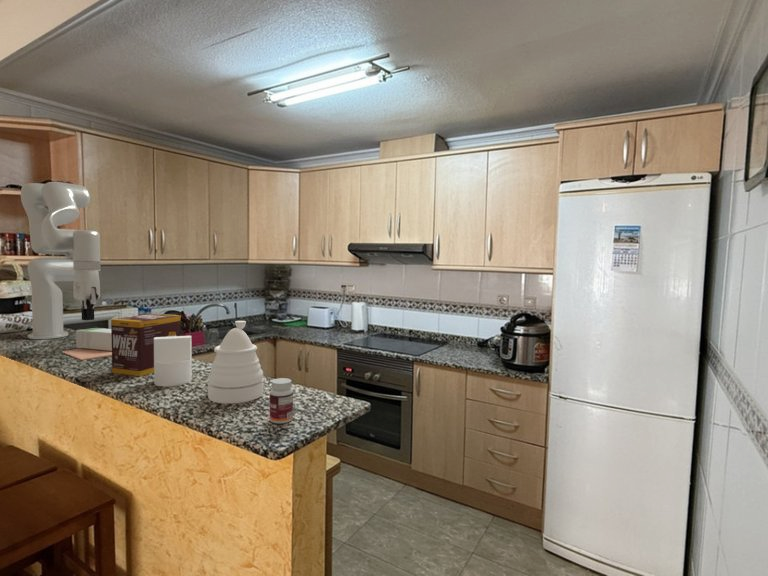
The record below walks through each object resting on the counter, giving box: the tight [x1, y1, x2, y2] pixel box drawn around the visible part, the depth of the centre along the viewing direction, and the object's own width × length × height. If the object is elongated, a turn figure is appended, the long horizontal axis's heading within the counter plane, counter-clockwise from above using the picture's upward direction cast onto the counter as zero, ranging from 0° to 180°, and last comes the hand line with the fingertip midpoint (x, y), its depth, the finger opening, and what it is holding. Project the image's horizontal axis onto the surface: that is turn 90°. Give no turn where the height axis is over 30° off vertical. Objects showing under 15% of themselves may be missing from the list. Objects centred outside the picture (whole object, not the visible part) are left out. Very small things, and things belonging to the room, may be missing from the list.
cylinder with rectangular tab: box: [153, 335, 193, 387], centre depth 111 cm, size 9×9×12 cm
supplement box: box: [110, 312, 182, 377], centre depth 123 cm, size 10×15×16 cm
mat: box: [60, 348, 112, 361], centre depth 141 cm, size 17×13×1 cm
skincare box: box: [75, 327, 112, 351], centre depth 146 cm, size 8×7×16 cm
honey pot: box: [207, 320, 264, 404], centre depth 102 cm, size 13×13×18 cm
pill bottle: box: [269, 377, 294, 424], centre depth 87 cm, size 5×5×8 cm
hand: (88, 319), depth 142 cm, fingers closed
